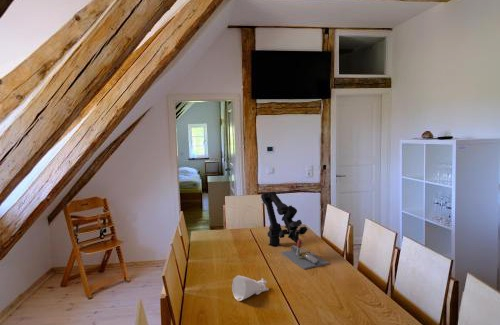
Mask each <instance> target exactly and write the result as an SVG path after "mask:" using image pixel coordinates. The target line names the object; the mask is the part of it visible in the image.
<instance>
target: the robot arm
mask: <svg viewBox="0 0 500 325" xmlns="http://www.w3.org/2000/svg"><path fill="white" fill-rule="evenodd" d="M260 198H261V201H262V203H264V205H265V207H266V208H265V209H266V211H267V215H268V220H269V224H270V225H269V229H268V232H267V233H266V234H267V237H268V238H269V243H268V245H269V246H271V247H278V246H280V245H281V241H280V240H281V239H282V238H283V239H284V238H285V235H287V238H288V239H291V241H293V242H294V243H295V244H297V241H298V239H300V238H299V236H300V235H301V236H302V235H305V234H306V232H308V227H307V226H301V225H303V222H302V220H301V219H297V220H296V221H294V220H293V219H294V218H295V216H296V214H297V213H298V210H297V208H296V207H294V206H293V205H288V204H286V203H283V202H282V200H281V199H280V197H279V196H278V195H277V193H276V191H269V192H268V191H267V192H262V194H261V195H260ZM273 204H274V205H273ZM274 206H275V207H276V212H277V214H278V215H279V216H282V217H281V221H283V223H284V225H285V226H284V229H282V226H281V223H279V222H278V221H277V218H276V217H277V216H276V213H275V209H274Z"/></svg>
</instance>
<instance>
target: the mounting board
mask: <svg viewBox="0 0 500 325" xmlns="http://www.w3.org/2000/svg"><path fill="white" fill-rule="evenodd" d="M300 249H306V248H305V247H303V248H302V247H300ZM280 253H281V255H282V256H284V257H285V258H287V259H288V260H290V261H291V262H292V263H294V264H296V265H297V266H298V267H300V268H301V269H303V270H308V269H312V268H318V267H319V268H320V267H324V266H326V265H327V266H329V265H330V262H329V261H327V260H326V259H324V258H323V257H320V256H319V255H318V254H315V253H313V252H312V251H310V255H312V256H313V257H315V258H317V259H318V261H319V262H318V264H316V265H315V264H313V263H312V262H310V261H308V260H307V259H301V258H299V257H296V252H294V251H293V250H286V251H281V252H280Z"/></svg>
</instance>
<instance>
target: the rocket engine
mask: <svg viewBox="0 0 500 325" xmlns="http://www.w3.org/2000/svg"><path fill="white" fill-rule="evenodd" d="M231 284H232V286H231V291H232V294H233V297H234V298H235V299H236V300H237V301H238V302H240V301H244V300H246V299H247V298H249V297H251V296H253V295H257V296H258V295H260V294H261V293H262V292H268V291H270V290H269V287H267V286H266V284H267V280H265V278H261V280H255V279H252V278H249V277H246V276H243V275H235V277H234V278H233V280H232V283H231Z"/></svg>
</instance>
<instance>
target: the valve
mask: <svg viewBox="0 0 500 325" xmlns="http://www.w3.org/2000/svg"><path fill="white" fill-rule="evenodd" d="M291 250H293V251H294V252H297V245H294V244H293V245H291ZM310 252H311V250H309V249H308V248H305V249H301V248H300V251H299V253H300V255H301V256H299V258H301V259H307V260H308V261H310V262H312V263H313V264H315V265H316V264H318V262H319V261H318V259H317V258H315V257H313V256H312V255H310Z"/></svg>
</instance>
